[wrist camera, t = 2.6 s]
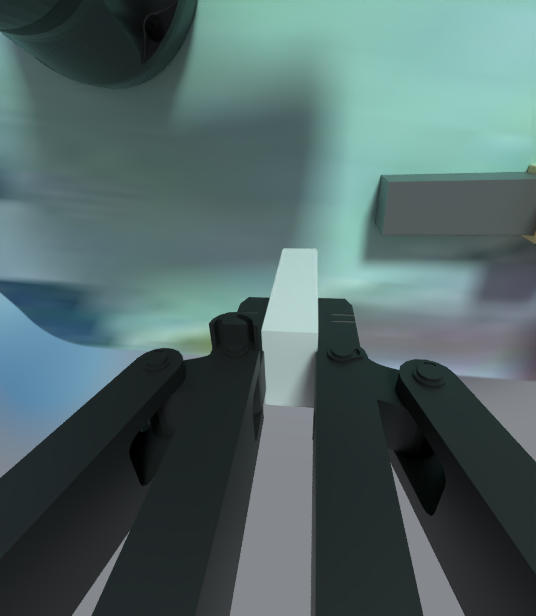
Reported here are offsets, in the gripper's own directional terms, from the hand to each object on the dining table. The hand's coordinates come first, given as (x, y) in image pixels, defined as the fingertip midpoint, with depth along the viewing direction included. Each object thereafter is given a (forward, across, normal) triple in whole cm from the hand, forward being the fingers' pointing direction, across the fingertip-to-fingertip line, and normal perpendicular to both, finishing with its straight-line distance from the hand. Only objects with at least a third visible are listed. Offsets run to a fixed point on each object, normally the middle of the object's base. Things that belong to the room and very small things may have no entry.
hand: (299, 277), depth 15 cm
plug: (+16, +14, 0) cm, 21 cm away
